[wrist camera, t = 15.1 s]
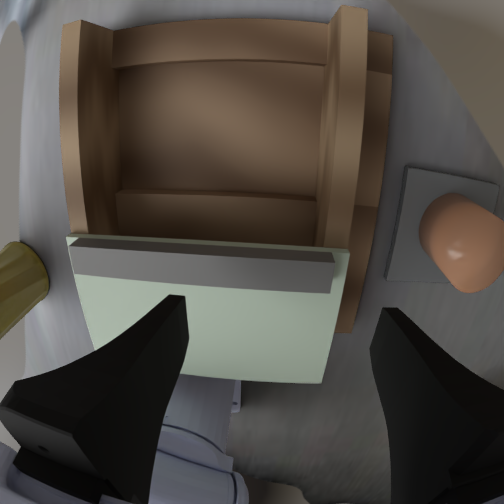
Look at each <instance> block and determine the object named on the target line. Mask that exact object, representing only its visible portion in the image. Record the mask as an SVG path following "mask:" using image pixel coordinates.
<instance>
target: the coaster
mask: <svg viewBox="0 0 504 504" xmlns="http://www.w3.org/2000/svg"><path fill="white" fill-rule="evenodd" d="M499 187H500V186H499V185H497V184H495V183H491V182H486V181H482V180H477V179H473V178H468V177H463V176H458V175H453V174H448V173H443V172H437V171H432V170H426V169H420V168H414V167H407V166H405V170H404V177H403V184H402V190H401V196H400V202H399V208H398V213H397V219H396V224H395V229H394V234H393V239H392V244H391V248H390V253H389V257H388V262H387V266H386V270H385V274H384V278H385V279H386V281H403V282H431V283H451V282H450V281H449V280H448V278H447V277H446V276H445V275H444V274H443V272H442V271H441V270H440V269H439V268H438V267H437V265H436V264H435V263H434V262H433V261H432V260H431V258H430V257H429V256H428V255H427V254H426V253H425V251H424V250H423V248H422V246H421V244H420V240H419V225H420V221H421V218H422V216H423V214H424V212H425V210H426V208H427V207H428V206H429V205H430V204H431V203H432V202H433V201H434V200H435V199H436V198H438V197H439V196H442V195H444V194H447V193H458V194H461V195H463V196H465V197H467V198H468V199H470V200H472V201H473V202H475V203H476V204H478V205H480V206H481V207H483V208H484V209H486V210H488V211H489V212H491V213H492V214H494V211H495V206H496V202H497V197H498V192H499Z"/></svg>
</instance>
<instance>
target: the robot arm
mask: <svg viewBox="0 0 504 504" xmlns="http://www.w3.org/2000/svg"><path fill="white" fill-rule="evenodd" d="M188 343H189V329H188V319H187V309H186V298H185V296H183V295H172V294H169V295H168V296H167V297H165V298H164V299H163V300H162V301H161V302H159V303H158V304H157V305H156V306H155V307H154V308H153V309H151V310H150V311H149V312H148V313H147V314H146V315H144V316H143V317H142V318H141V319H139V320H138V321H137V322H136V323H135V324H133V325H132V326H131V327H129V328H128V329H127V330H125V331H124V332H123V333H121V334H120V335H119V336H117V337H116V338H114V339H113V340H111V341H110V342H108V343H107V344H105V345H104V346H102V347H100V348H99V349H97V350H95V351H94V352H92V353H90V354H88V355H86V356H84V357H82V358H80V359H78V360H76V361H74V362H72V363H70V364H67V365H65V366H62V367H60V368H58V369H55V370H52V371H49V372H47V373H44V374H40V375H37V376H33V377H30V378H26V379H22V380H18V381H15V382H14V384H13V385H12V387H11V388H10V390H9V391H8V392H7V394H6V395H5V397H4V398H3V400H2V401H1V403H0V420H1V422H2V423H3V425H4V426H5V428H6V429H7V430H8V431H9V433H10V434H11V435H12V436H13V437H14V439H15V440H16V441H17V442H18V443H19V444H20V446H21V448H20V450H19V452H18V453H17V452H16V451H15V450H13V449H12V448H11V447H9V446H7V445H5V444H4V443H2V442H0V504H249V495H248V490H247V487H246V485H245V482H244V479H243V477H242V476H241V475H240V474H239V473H237V472H233V471H232V465H233V458H232V457H229V456H227V455H225V451H226V444H227V437H228V430H229V423H230V416H231V412H239V411H240V408H241V380H235V379H224V378H214V377H204V376H195V375H187V374H180V372H181V369H182V366H183V363H184V360H185V356H186V352H187V348H188ZM370 356H371V363H372V370H373V374H374V378H375V382H376V385H377V389H378V393H379V396H380V400H381V404H382V407H383V411H384V415H385V419H386V424H387V430H388V438H389V447H390V461H391V504H504V390H503V389H500V388H499V387H497V386H495V385H493V384H491V383H489V382H488V381H486V380H484V379H483V378H481V377H479V376H478V375H476V374H475V373H473V372H472V371H470V370H469V369H467V368H466V367H465V366H463V365H462V364H460V363H459V362H458V361H456V360H455V359H454V358H453V357H451V356H450V355H449V354H448V353H447V352H445V351H444V350H443V349H442V348H441V347H440V346H438V345H437V344H436V343H435V342H434V341H433V340H432V339H431V338H430V337H429V336H427V335H426V334H425V333H424V332H423V331H422V330H421V329H420V328H419V327H418V326H417V325H416V324H415V323H414V322H413V321H412V320H411V319H410V318H408V317H407V316H406V315H405V314H404V313H403V312H402V311H401V310H399V309H398V308H386V307H383V308H382V311H381V314H380V318H379V321H378V324H377V327H376V330H375V333H374V337H373V340H372V343H371V346H370Z"/></svg>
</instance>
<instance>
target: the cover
mask: <svg viewBox="0 0 504 504" xmlns="http://www.w3.org/2000/svg"><path fill="white" fill-rule="evenodd" d="M66 240H67V245H68V250H69V255H70V260H71V264H72V269H73V273H74V278H75V282H76V286H77V290H78V294H79V298H80V302H81V305H82V309H83V313H84V316H85V320H86V323H87V326H88V330H89V333H90V336H91V339H92V343H93V346H94V349H95V350H97V349H99V348H100V347H102V346H104V345H105V344H107V343H108V342H110V341H111V340H113V339H114V338H116V337H117V336H119V335H120V334H121V333H123V332H124V331H125V330H127V329H128V328H129V327H131V326H132V325H133V324H135V323H136V322H137V321H138V320H139V319H141V318H142V317H143V316H144V315H146V314H147V313H148V312H149V311H150V310H151V309H153V308H154V307H155V306H156V305H157V304H158V303H159V302H161V301H162V300H163V299H164V298H165V297H167V296H168V295H169V294H172V295H183V296H185V298H186V309H187V319H188V329H189V343H188V348H187V352H186V356H185V360H184V363H183V366H182V369H181V372H180V374H187V375H195V376H204V377H214V378H224V379H235V380H248V381H263V382H283V383H321V382H322V378H323V375H324V371H325V367H326V363H327V359H328V355H329V351H330V347H331V343H332V338H333V334H334V330H335V325H336V321H337V317H338V312H339V307H340V303H341V298H342V293H343V288H344V283H345V278H346V272H347V267H348V262H349V256H350V252H349V250H348V249H340V248H324V247H308V246H292V245H276V244H259V243H242V242H225V241H207V240H189V239H171V238H152V237H133V236H113V235H93V234H72V233H70V234H69V235H68V236H67V237H66Z"/></svg>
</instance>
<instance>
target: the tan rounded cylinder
mask: <svg viewBox="0 0 504 504" xmlns="http://www.w3.org/2000/svg"><path fill="white" fill-rule="evenodd" d="M419 240H420V244H421V246H422V248H423V250H424V251H425V253H426V254H427V255H428V256H429V257H430V258H431V260H432V261H433V262H434V263H435V264H436V265H437V267H438V268H439V269H440V270H441V271H442V272H443V274H444V275H445V276H446V277H447V278H448V280H449V281H450V282H451V283H452V285H453V286H454V287H455V288H456V289H458V290H459V291H462V292H465V293H474V292H478V291H481V290H483V289H485V288H487V287H488V286H489V285H491V284H492V283H493V282H494V281H495V280H496V279H497V278H498V277H499V276H500V274H501V273H502V271H503V270H504V221H502V220H501V219H500V218H498V217H497V216H495V215H494V214H492V213H491V212H489V211H488V210H486V209H484V208H483V207H481V206H480V205H478V204H476V203H475V202H473V201H472V200H470V199H468V198H467V197H465V196H463V195H461V194H458V193H447V194H444V195H442V196H439V197H438V198H436V199H435V200H434V201H433V202H432V203H431V204H430V205H429V206H428V207H427V208H426V210H425V212H424V214H423V216H422V218H421V221H420V225H419Z"/></svg>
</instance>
